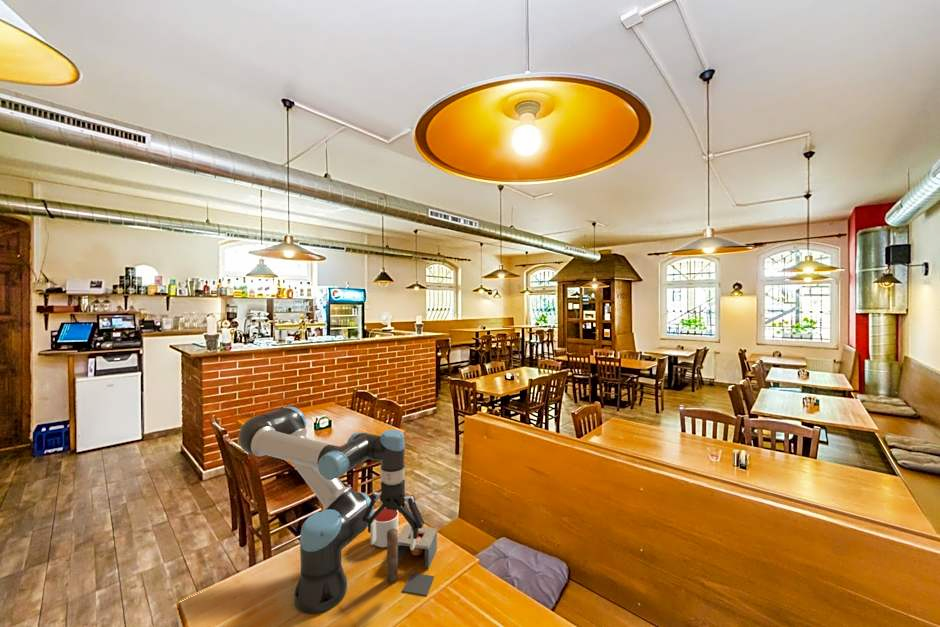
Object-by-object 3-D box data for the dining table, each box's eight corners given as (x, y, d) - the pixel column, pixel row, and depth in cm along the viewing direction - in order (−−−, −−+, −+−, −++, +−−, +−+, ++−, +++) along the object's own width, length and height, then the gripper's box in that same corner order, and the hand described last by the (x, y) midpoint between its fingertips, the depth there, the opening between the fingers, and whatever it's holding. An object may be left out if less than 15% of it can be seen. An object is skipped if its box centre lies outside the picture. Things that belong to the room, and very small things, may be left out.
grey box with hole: (394, 564, 130) (394, 541, 129) (405, 545, 140) (405, 524, 139) (428, 569, 127) (428, 546, 127) (436, 550, 137) (436, 528, 137)
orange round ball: (409, 554, 132) (409, 541, 132) (413, 547, 136) (413, 535, 136) (419, 555, 131) (419, 543, 131) (423, 548, 135) (423, 536, 135)
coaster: (402, 591, 118) (402, 590, 118) (411, 573, 125) (411, 572, 125) (426, 596, 116) (426, 594, 116) (434, 577, 124) (434, 576, 124)
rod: (385, 583, 121) (385, 534, 121) (389, 575, 125) (389, 528, 124) (395, 584, 121) (395, 535, 120) (399, 577, 124) (399, 529, 123)
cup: (403, 537, 144) (403, 512, 144) (384, 552, 136) (384, 525, 135) (384, 529, 149) (384, 504, 149) (365, 542, 141) (365, 516, 141)
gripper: (351, 481, 120) (351, 547, 121) (426, 489, 115) (426, 557, 116) (362, 471, 127) (362, 532, 128) (433, 478, 122) (433, 542, 123)
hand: (393, 544), depth 122 cm, fingers open, 13 cm apart
